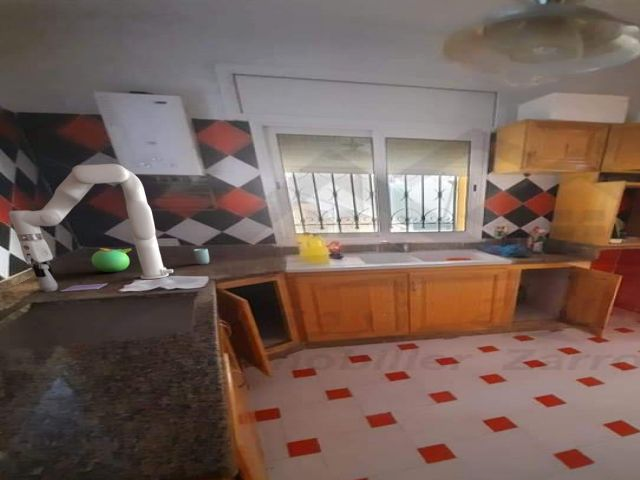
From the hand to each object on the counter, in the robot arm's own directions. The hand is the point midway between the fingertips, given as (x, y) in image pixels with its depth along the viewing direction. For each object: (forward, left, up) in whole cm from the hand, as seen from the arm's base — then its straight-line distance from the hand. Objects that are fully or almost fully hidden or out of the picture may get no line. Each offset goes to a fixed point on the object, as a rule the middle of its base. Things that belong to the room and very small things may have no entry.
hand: (45, 275), depth 153 cm
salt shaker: (0, 0, -8) cm, 8 cm away
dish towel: (-13, 0, -8) cm, 15 cm away
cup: (-54, -46, -8) cm, 71 cm away
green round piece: (-10, -38, -8) cm, 40 cm away
